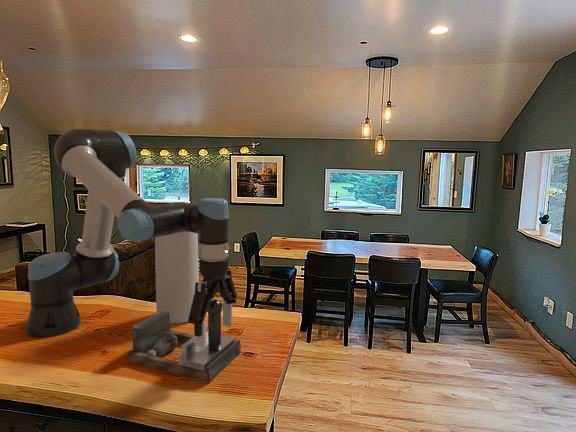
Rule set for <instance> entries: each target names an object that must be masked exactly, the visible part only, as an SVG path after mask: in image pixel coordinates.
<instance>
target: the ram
mask: <svg viewBox="0 0 576 432" xmlns="http://www.w3.org/2000/svg"><path fill="white" fill-rule="evenodd" d="M222 312H223V303H222V302H221V301H220V300H218V299H214V298H213V299H211V302H210V305H209V307H208V310H207V326H206V347H205V348H201V347H196V346H195V336H194V337H193V338H191V339H190V340H188V341H187V342H186V343H182V344H181V346H180V347H181V355H180V356H178V357H177V362H178V365H182V366H186V367H190V368H193V369H197V370H201V371H205V370H206V367H207V366H208V365H209V364H210V363H212V362H213V361H214V360H215V359H216V358H217V357H218V356H220V355H221V354H222V353H223V352H224V351H225V350H226V349H228V348H229V347H230V346H231V345H232V344H233V343H234V342H236V341H237V337H236V336H232V335H231V336H230V335H227V334H222Z"/></svg>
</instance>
